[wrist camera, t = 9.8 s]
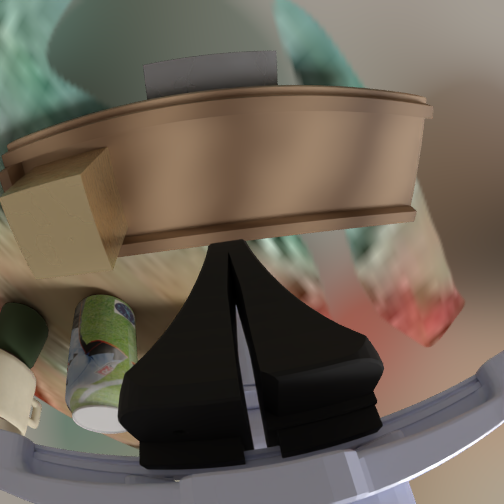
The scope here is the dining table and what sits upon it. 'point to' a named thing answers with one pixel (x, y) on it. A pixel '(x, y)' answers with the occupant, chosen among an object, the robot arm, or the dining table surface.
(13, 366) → the character mug
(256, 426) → the robot arm
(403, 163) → the beam
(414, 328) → the dining table surface
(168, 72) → the pivot stand
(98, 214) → the brass block
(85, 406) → the beverage can
